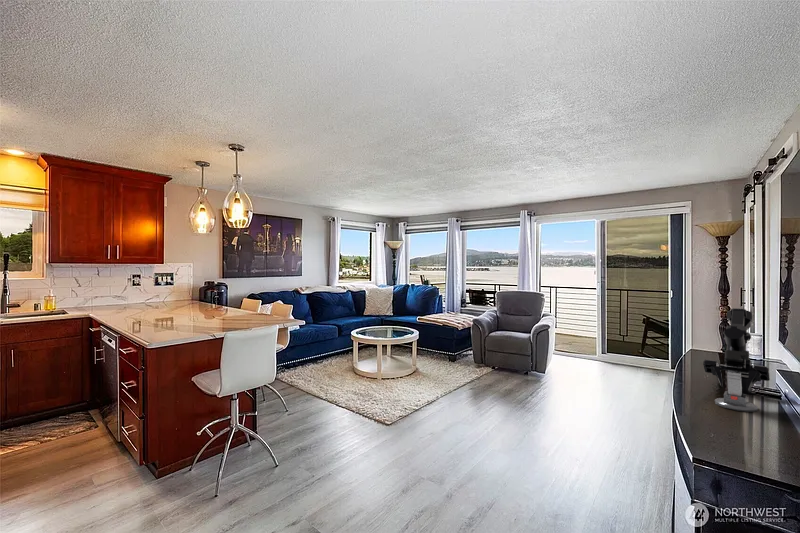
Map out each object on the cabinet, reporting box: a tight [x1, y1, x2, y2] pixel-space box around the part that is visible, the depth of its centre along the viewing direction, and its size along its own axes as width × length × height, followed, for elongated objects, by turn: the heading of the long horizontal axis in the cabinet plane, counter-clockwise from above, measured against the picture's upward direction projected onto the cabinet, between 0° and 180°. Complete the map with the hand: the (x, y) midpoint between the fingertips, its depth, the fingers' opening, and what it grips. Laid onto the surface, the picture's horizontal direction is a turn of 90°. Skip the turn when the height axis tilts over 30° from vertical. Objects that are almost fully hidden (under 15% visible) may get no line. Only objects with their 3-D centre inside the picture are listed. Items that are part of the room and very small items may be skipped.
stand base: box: [714, 390, 759, 413], centre depth 138 cm, size 12×12×4 cm
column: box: [726, 370, 742, 397], centre depth 138 cm, size 4×4×12 cm
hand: (734, 388), depth 137 cm, fingers open, 7 cm apart
